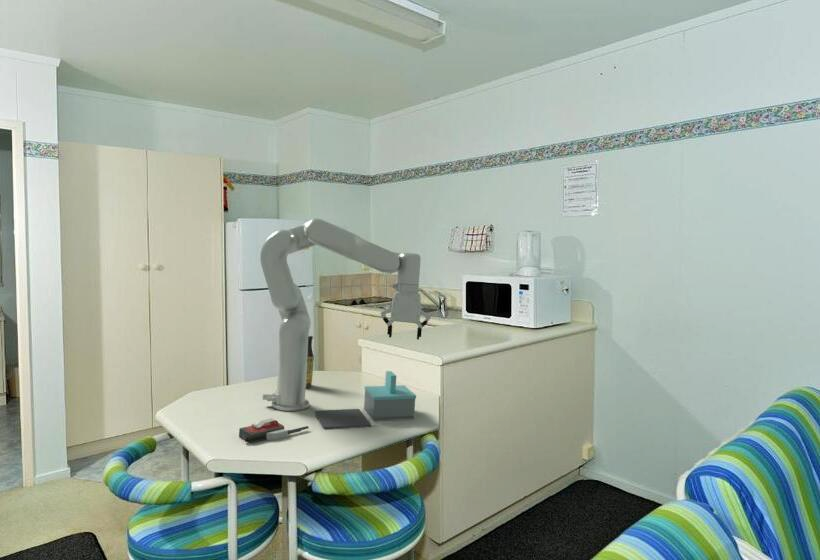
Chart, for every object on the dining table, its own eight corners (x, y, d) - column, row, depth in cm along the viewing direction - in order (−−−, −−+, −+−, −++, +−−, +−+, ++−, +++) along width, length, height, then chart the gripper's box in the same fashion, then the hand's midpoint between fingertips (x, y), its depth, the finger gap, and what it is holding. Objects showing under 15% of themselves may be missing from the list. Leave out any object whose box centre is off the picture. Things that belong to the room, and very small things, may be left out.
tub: (373, 421, 174) (374, 399, 173) (363, 409, 185) (365, 389, 185) (413, 419, 178) (415, 398, 178) (402, 407, 190) (403, 388, 189)
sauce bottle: (302, 389, 204) (305, 337, 203) (291, 385, 208) (294, 334, 207) (315, 386, 210) (318, 335, 208) (304, 382, 213) (307, 333, 212)
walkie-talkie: (249, 448, 146) (310, 432, 161) (250, 432, 146) (311, 418, 160) (233, 438, 152) (293, 424, 167) (234, 423, 152) (294, 410, 166)
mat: (323, 429, 163) (323, 427, 163) (314, 412, 178) (315, 410, 178) (371, 426, 168) (371, 424, 168) (358, 410, 183) (359, 408, 183)
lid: (373, 404, 173) (375, 378, 173) (364, 393, 185) (365, 369, 184) (415, 403, 178) (417, 377, 177) (403, 392, 190) (405, 368, 189)
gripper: (381, 287, 182) (378, 337, 183) (432, 291, 181) (428, 341, 182) (383, 286, 189) (380, 334, 191) (432, 289, 189) (429, 338, 190)
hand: (404, 337), depth 186 cm, fingers open, 9 cm apart
